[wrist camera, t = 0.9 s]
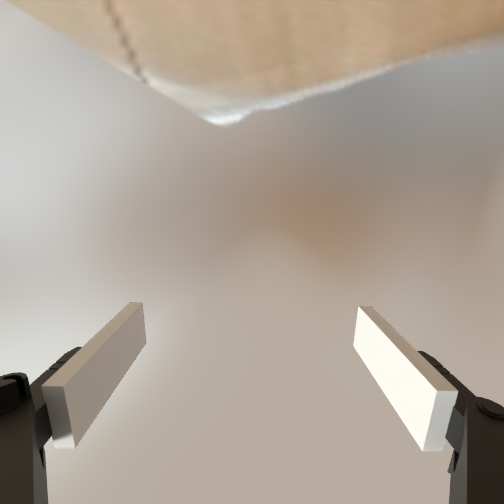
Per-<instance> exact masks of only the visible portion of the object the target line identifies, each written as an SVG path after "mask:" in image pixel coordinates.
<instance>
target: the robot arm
mask: <svg viewBox="0 0 504 504" xmlns="http://www.w3.org/2000/svg"><path fill="white" fill-rule="evenodd" d="M145 344H146V335H145V324H144V313H143V303H133V302H130V303H129V304H128V305H127V306H126V307H124V308H123V309H122V310H121V311H120V312H119V313H118V314H117V315H116V316H115V317H114V318H113V319H112V320H111V321H110V322H109V323H107V324H106V325H105V327H103V328H102V329H101V330H100V331H99V332H98V333H97V334H96V335H95V336H94V337H93V338H92V339H91V340H90V341H88V342H87V343H86V344H85V345H84V346H83V347H76V348H74V349H73V350H71V351H69V352H67V353H65V354H64V355H63V356H62V357H61V358H60V359H59V360H58V361H56V363H54V364H53V365H52V366H51V367H50V368H49V370H46V371H45V372H44V373H43V374H42V375H41V376H40V377H38V378H37V379H36V380H35V381H34V382H33V383H32V384H31V385H29V382H28V377H27V375H26V374H24V373H21V372H20V373H11V374H7V375H3V376H0V504H48V493H47V477H46V462H45V450H44V445H45V443H46V442H47V441H48V439H49V438H50V437H51V436H52V438H53V442H54V447H55V448H76V446H77V445H78V443H79V442H80V440H81V439H82V437H83V436H84V434H85V433H86V431H87V430H88V428H89V427H90V425H91V424H92V423H93V421H94V419H95V418H96V417H97V415H98V414H99V412H100V411H101V409H102V408H103V406H104V405H105V403H106V402H107V400H108V399H109V397H110V396H111V394H112V393H113V391H114V390H115V388H116V387H117V386H118V384H119V383H120V381H121V380H122V378H123V377H124V375H125V374H126V372H127V371H128V369H129V368H130V366H131V365H132V363H133V362H134V360H135V359H136V357H137V356H138V354H139V353H140V351H141V350H142V348H143V347H144V346H145ZM353 345H354V348H355V349H356V351H357V352H358V354H359V355H360V357H361V358H362V360H363V361H364V363H365V364H366V366H367V367H368V369H369V371H370V372H371V374H372V375H373V377H374V378H375V380H376V381H377V383H378V384H379V386H380V387H381V389H382V390H383V392H384V393H385V395H386V396H387V398H388V399H389V401H390V403H391V404H392V406H393V407H394V409H395V410H396V412H397V413H398V415H399V416H400V418H401V419H402V421H403V422H404V424H405V425H406V427H407V428H408V430H409V431H410V433H411V434H412V436H413V437H414V439H415V441H416V442H417V444H418V445H419V447H420V448H421V450H422V451H443V448H444V444H445V440H446V439H447V440H448V442H449V443H450V444H451V446H452V447H453V448H454V451H453V454H452V458H451V462H450V465H449V469H448V473H450V474H451V481H450V498H449V504H504V407H502V406H501V405H499V404H497V403H495V402H493V401H491V400H488V399H485V398H482V397H476V396H475V395H474V394H473V393H472V392H471V391H469V390H468V389H467V388H466V387H465V386H464V385H463V384H462V383H461V382H460V381H459V380H457V378H455V377H454V376H453V375H452V374H450V372H449V371H448V370H447V369H446V368H443V366H442V365H441V364H440V363H439V362H438V361H437V360H436V359H435V358H433V357H432V356H430V355H428V354H427V353H425V352H423V351H416V349H414V348H413V347H412V346H411V345H410V344H409V343H408V342H407V341H406V340H405V339H404V338H403V337H402V336H401V335H400V334H399V333H398V332H397V331H396V330H395V329H394V328H393V327H392V326H391V325H390V324H389V323H388V322H387V321H386V320H385V319H383V317H382V316H381V315H379V313H377V312H376V311H375V310H374V309H373V308H372V307H371V306H359V308H358V315H357V323H356V330H355V338H354V344H353Z"/></svg>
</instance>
